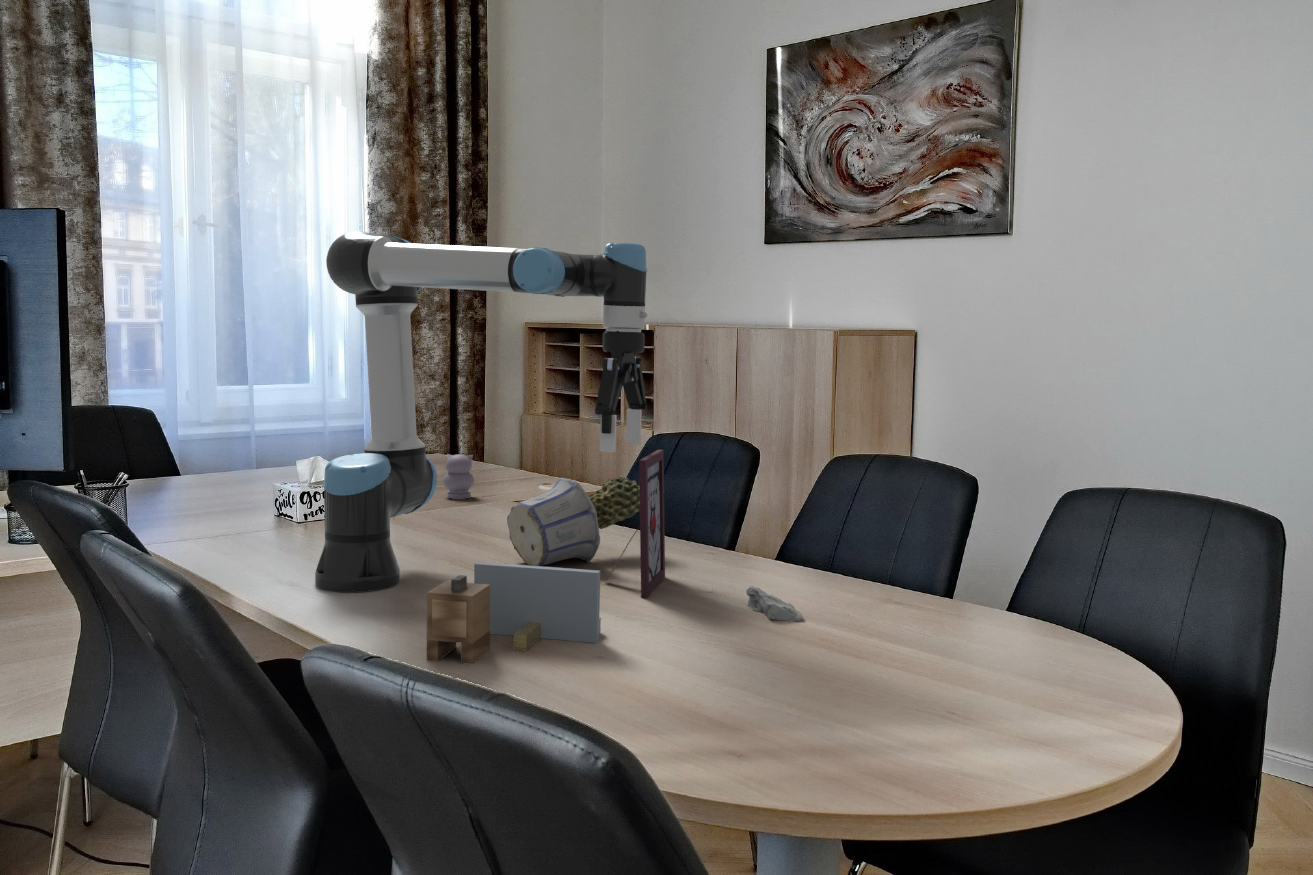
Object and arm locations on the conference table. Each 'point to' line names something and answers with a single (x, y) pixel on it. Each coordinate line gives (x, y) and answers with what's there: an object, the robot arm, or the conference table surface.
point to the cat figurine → (458, 476)
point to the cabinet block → (458, 619)
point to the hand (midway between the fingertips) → (620, 448)
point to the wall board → (542, 600)
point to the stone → (771, 606)
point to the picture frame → (651, 522)
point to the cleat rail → (527, 636)
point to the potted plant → (569, 519)
